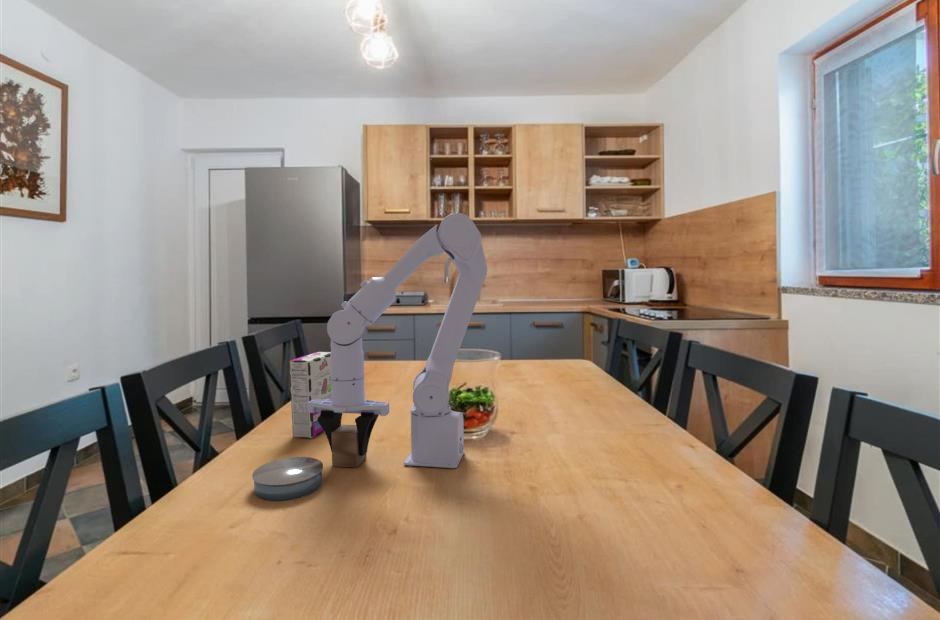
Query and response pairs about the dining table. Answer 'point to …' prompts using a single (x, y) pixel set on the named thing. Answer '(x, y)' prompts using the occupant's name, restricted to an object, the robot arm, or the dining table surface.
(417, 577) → the dining table surface
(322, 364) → the candy bar box
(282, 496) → the biscuit tin
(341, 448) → the walnut block
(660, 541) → the dining table surface
